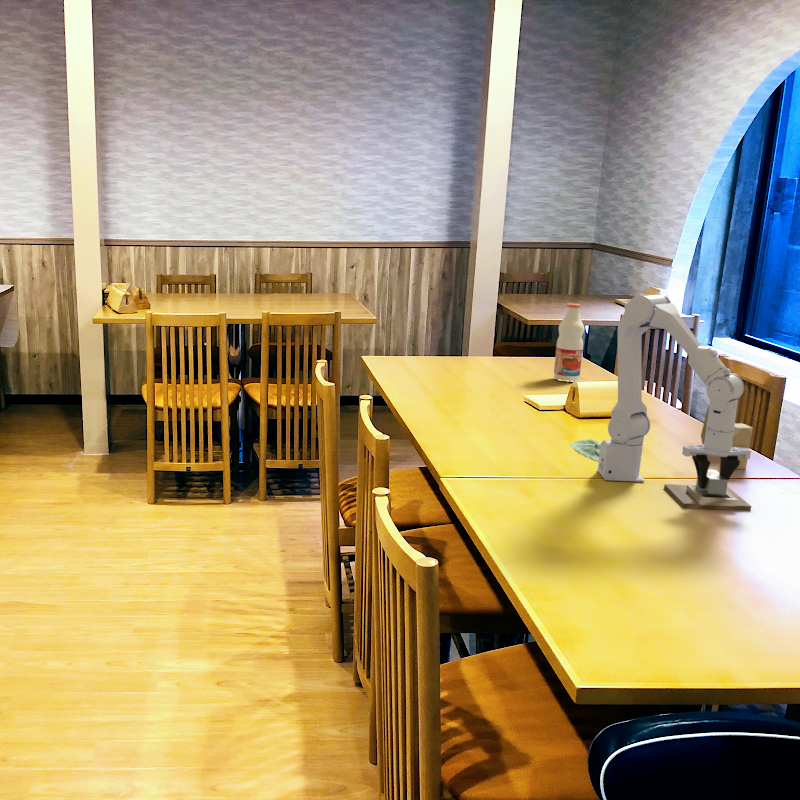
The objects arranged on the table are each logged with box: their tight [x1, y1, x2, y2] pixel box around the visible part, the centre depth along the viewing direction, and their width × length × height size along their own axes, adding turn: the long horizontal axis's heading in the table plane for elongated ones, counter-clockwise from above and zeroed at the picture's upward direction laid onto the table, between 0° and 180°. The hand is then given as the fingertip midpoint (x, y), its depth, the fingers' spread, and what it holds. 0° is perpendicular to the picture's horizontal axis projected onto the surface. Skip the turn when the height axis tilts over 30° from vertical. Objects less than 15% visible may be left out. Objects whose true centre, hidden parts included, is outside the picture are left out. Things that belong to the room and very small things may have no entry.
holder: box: [663, 483, 752, 511], centre depth 198 cm, size 15×14×2 cm
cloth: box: [569, 438, 602, 463], centre depth 231 cm, size 20×22×2 cm
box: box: [719, 422, 754, 470], centre depth 223 cm, size 5×4×11 cm
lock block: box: [695, 469, 729, 498], centre depth 196 cm, size 4×7×5 cm, turn 2°
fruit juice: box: [553, 302, 585, 381], centre depth 318 cm, size 9×9×28 cm
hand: (711, 487), depth 196 cm, fingers closed on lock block, 4 cm apart
